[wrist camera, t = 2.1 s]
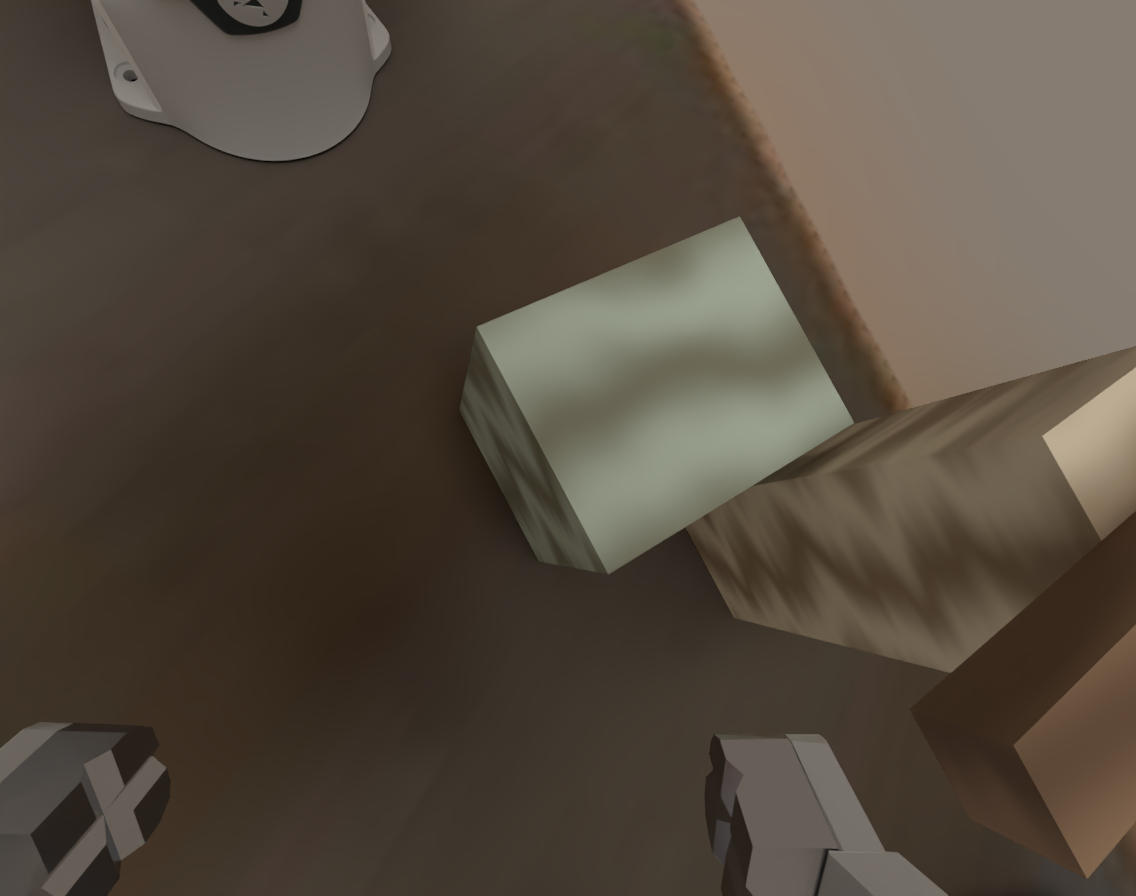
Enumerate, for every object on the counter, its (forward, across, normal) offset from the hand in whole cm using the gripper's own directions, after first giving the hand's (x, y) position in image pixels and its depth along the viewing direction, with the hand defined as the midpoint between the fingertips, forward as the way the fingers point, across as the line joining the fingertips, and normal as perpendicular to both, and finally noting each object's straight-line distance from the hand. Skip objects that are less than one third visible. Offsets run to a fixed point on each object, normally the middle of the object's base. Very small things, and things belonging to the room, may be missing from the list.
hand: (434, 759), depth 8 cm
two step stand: (+31, -7, +10) cm, 33 cm away
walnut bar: (+8, -20, +2) cm, 21 cm away
